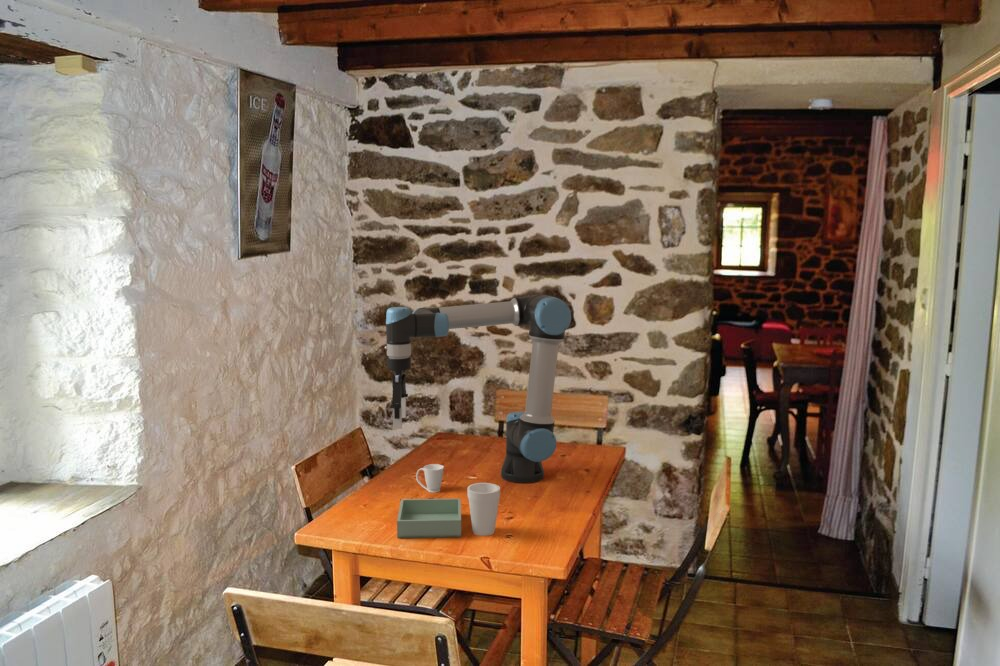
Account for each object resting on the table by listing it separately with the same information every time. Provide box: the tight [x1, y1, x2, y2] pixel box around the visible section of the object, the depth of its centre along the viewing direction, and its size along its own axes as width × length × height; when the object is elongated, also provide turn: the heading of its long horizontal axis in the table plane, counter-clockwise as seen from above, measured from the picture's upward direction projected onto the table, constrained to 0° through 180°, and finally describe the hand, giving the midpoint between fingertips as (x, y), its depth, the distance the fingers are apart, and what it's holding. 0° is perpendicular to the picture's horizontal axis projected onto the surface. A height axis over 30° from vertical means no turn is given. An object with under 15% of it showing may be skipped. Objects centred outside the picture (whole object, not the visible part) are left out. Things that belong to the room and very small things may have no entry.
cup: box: [415, 463, 445, 493], centre depth 267 cm, size 7×10×8 cm
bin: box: [396, 498, 462, 539], centre depth 236 cm, size 18×18×5 cm
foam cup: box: [466, 482, 501, 537], centre depth 231 cm, size 10×9×13 cm
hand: (399, 422), depth 255 cm, fingers open, 13 cm apart
